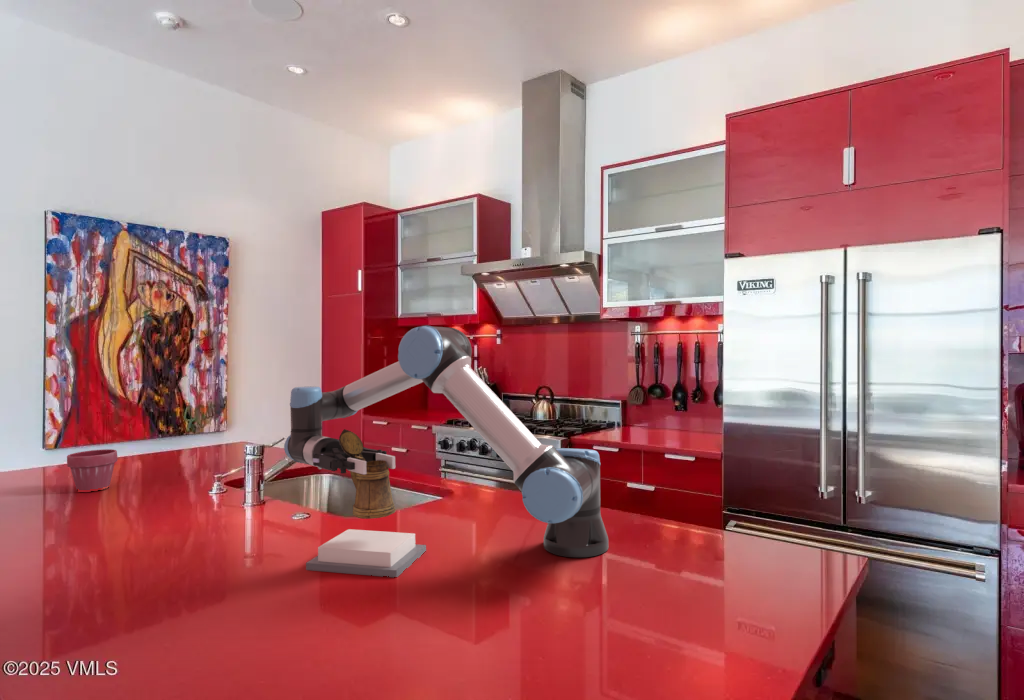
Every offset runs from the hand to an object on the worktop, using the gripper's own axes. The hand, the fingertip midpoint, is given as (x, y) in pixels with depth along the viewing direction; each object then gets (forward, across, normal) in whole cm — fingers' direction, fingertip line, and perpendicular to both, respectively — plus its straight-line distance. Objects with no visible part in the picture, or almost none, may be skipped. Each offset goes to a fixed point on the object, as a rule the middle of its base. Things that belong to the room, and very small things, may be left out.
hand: (379, 465), depth 130 cm
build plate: (-5, 0, -22) cm, 22 cm away
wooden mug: (-5, 0, -11) cm, 12 cm away
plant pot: (-136, +25, -22) cm, 140 cm away
